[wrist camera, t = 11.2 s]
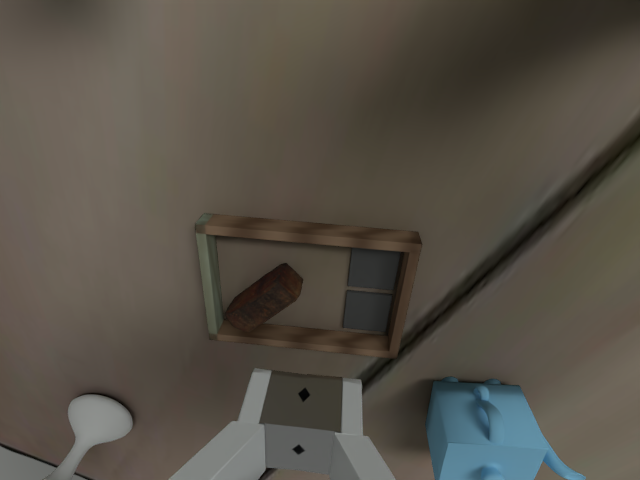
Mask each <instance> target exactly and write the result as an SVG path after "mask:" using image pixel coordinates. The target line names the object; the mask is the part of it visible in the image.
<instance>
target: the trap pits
mask: <svg viewBox="0 0 640 480" xmlns="http://www.w3.org/2000/svg"><path fill="white" fill-rule="evenodd" d="M400 253H401V252H399V251H388V250H377V249H366V248H355V247H352V253H351V262H350V271H349V280H348V286H354V287H365V288H375V289H386V290H394V284H395V279H396V274H397V269H398V263H399V258H400ZM391 300H392V294H383V293H372V292H362V291H351V290H347V297H346V306H345V315H344V323H343V328H351V329H361V330H371V331H381V332H385V331H386V326H387V321H388V316H389V310H390V305H391Z"/></svg>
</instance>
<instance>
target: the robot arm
mask: <svg viewBox="0 0 640 480" xmlns="http://www.w3.org/2000/svg"><path fill="white" fill-rule="evenodd" d="M266 467H269V468H280V469H292V470H301V471H307V472H314V473H321V474H328V475H329V477H330V479H331V480H396V479H395V477H394V476H393V474H392V473H391V471H390V469H389V468H388V466H387V465H386V463H385V462H384V460H383V458H382V457H381V455H380V454H379V452H378V451H377V449H376V448H375V446H374V444H373V443H372V441H371V440H370V438H369V437H368V436H363V423H362V383H361V380H359V379H350V378H342V377H334V376H323V375H312V374H307V375H305V374H298V373H290V372H283V371H275V370H267V369H258V368H255V369H254V370H253V372H252V374H251V378H250V381H249V384H248V388H247V391H246V394H245V397H244V401H243V404H242V407H241V411H240V414H239V417H238V420H237V421H231V422H230V423H229V424H228V425H227V426H226V427H225V428H224V429H222V430H221V431H220V432H219V433H218V434H217V435H216V436H215V437H214V438H213V439H212V440H211V441H209V442H208V443H207V444H206V445H205V446H204V447H203V448H202V449H201V450H200V451H199V452H198V453H197V454H195V455H194V456H193V457H192V458H191V459H190V460H189V461H188V462H187V463H186V464H185V465H184V466H182V467H181V468H180V469H179V470H178V471H177V472H176V473H175V474H174V475H173V476H172V477H171V478H169V479H168V480H258V479H259V478H260V476H261V475H262V474H263V472H264V471H265V470H266Z"/></svg>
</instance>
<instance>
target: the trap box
mask: <svg viewBox="0 0 640 480" xmlns="http://www.w3.org/2000/svg"><path fill="white" fill-rule="evenodd" d="M195 230H196V238H197V246H198V253H199V261H200V269H201V277H202V285H203V292H204V300H205V308H206V316H207V323H208V331H209V339H210V340H218V341H228V342H237V343H247V344H257V345H267V346H277V347H286V348H296V349H306V350H316V351H326V352H335V353H345V354H355V355H365V356H375V357H384V358H394V359H397V355H398V350H399V346H400V342H401V337H402V333H403V328H404V324H405V319H406V315H407V310H408V306H409V301H410V297H411V292H412V288H413V283H414V279H415V274H416V270H417V265H418V261H419V256H420V252H421V247H422V242H421V239H420V236H419V233H418V232H413V231H401V230H390V229H378V228H367V227H355V226H344V225H332V224H321V223H309V222H297V221H286V220H274V219H263V218H251V217H240V216H228V215H217V214H205V213H204V214H203V215H202V216H201V217H200V219H199V220H198V221H197V222H196V224H195ZM216 235H220V236H231V237H242V238H254V239H265V240H276V241H287V242H298V243H310V244H321V245H332V246H343V247H355V248H366V249H377V250H388V251H399V252H404V255H403V260H402V265H401V270H400V275H399V281H398V286H397V291H396V296H395V301H394V306H393V311H392V316H391V321H390V326H389V331H388V336H383V335H373V334H363V333H353V332H343V331H333V330H322V329H312V328H302V327H292V326H282V325H272V324H261V325H260V326H258V327H257V328H255V329H254V330H252V331H250V332H244V331H242V330H240V329H238V328H235V327H234V326H232V325H231V323H230V321H229V320H224V317H223V306H222V296H221V286H220V276H219V266H218V256H217V246H216Z"/></svg>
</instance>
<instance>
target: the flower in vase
mask: <svg viewBox="0 0 640 480" xmlns="http://www.w3.org/2000/svg"><path fill="white" fill-rule="evenodd" d="M68 417H69V421H70V424H71V426H72V429H73V431H74V433H75V437H76V440H75V443H74V445H73V447H72V449H71V451H70V452H69V454H68V455H67V456H66V458H65V459H64V460H63V462H62V463H61V464H60V465H59V466H58V467H57V468H56V469H55V471H53V472H52V473H51V474H50V475H49V476H47V477H46V478H44V479H42V480H72V477H73V475H74V472H75V470H76V468H77V466H78V464H79V463H80V461H81V459H82V458H83V456H84V455H85V453H86V452H87V451H88V450H89V449H90V448H91V447H92V446H94V445H96V444H100V443H105V442H110V441H114V440H116V439H119V438H122V437H124V436H125V435H126V434H127V433H128V432H129V431H130V430H131V429H132V426H133V422H132V416H131V414H130V413H129V411H128V410H127V409H126V408H125V407H124V406H123V405H122V404H120V403H119V402H117V401H115V400H113V399H111V398H108V397H105V396H102V395H96V394H86V395H82V396H79V397H77V398H75V399H74V400H72V401H71V403H70V405H69V408H68Z"/></svg>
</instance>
